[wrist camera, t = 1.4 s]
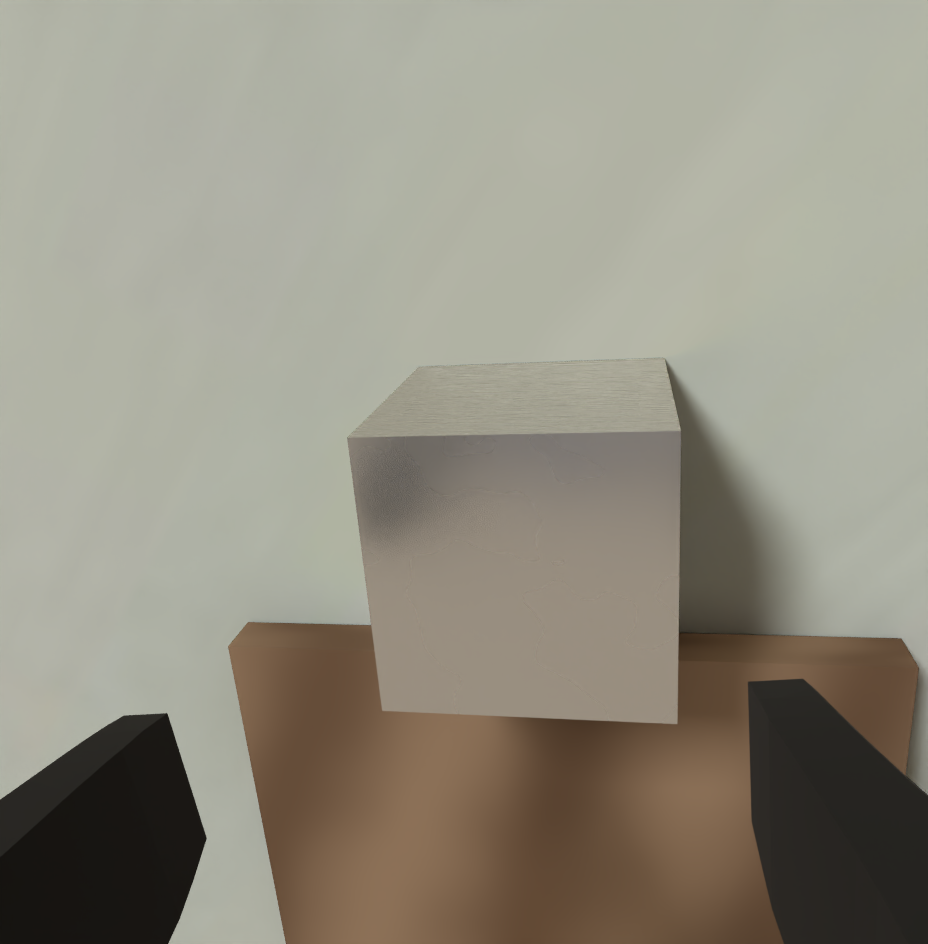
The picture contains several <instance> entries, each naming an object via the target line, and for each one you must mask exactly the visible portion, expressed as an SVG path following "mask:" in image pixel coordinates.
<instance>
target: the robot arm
mask: <svg viewBox="0 0 928 944" xmlns="http://www.w3.org/2000/svg"><path fill="white" fill-rule="evenodd" d="M748 708H749V745H750V782H751V819H752V826H753V830H754V834H755V839H756V843H757V848H758V852H759V856H760V861H761V865H762V870H763V874H764V878H765V882H766V886H767V890H768V895H769V899H770V903H771V907H772V911H773V914H774V916H775V919H776V922H777V925H778V928H779V931H780V934H781V937H782V940H783V943H784V944H928V795H927V794H926V793H925V792H924V791H922V790H921V789H920V788H919V787H918V786H917V785H916V784H915V783H913V782H912V781H911V780H910V779H909V778H908V777H907V776H905V775H904V774H903V773H902V772H901V771H900V770H899V769H898V768H897V767H896V766H894V765H893V764H892V763H891V762H890V761H889V760H888V759H887V758H886V757H885V756H884V755H883V754H882V753H880V752H879V751H878V750H877V749H876V748H875V747H874V746H873V745H872V744H871V743H870V742H869V741H868V740H867V739H866V738H865V737H864V736H863V735H861V734H860V733H859V732H858V731H857V730H856V729H855V728H854V727H853V726H852V725H851V724H850V723H849V722H848V721H847V720H846V719H845V718H844V717H843V716H842V715H841V714H840V713H839V712H838V711H837V710H836V709H835V708H834V707H833V706H832V705H831V704H830V703H829V702H828V701H827V700H826V699H825V698H824V697H823V696H822V695H821V694H820V693H819V692H818V691H817V690H815V689H814V688H813V687H812V686H811V685H810V684H809V683H808V682H806V681H805V680H804V679H786V680H768V681H750V682H748ZM206 839H207V838H206V835H205V832H204V828H203V825H202V822H201V819H200V816H199V812H198V809H197V806H196V803H195V800H194V797H193V793H192V790H191V787H190V784H189V781H188V778H187V774H186V771H185V768H184V765H183V762H182V759H181V755H180V752H179V749H178V746H177V743H176V740H175V736H174V733H173V730H172V727H171V724H170V720H169V717H168V714H167V713H165V714H147V715H129V716H122V717H121V718H119V719H117V720H116V721H114V722H112V723H111V724H109V725H107V726H106V727H104V728H103V729H101V730H99V731H98V732H96V733H95V734H93V735H92V736H90V737H89V738H87V739H86V740H84V741H83V742H81V743H80V744H79V745H77V746H76V747H74V748H73V749H71V750H70V751H68V752H67V753H66V754H64V755H63V756H61V757H60V758H58V759H57V760H56V761H54V762H53V763H51V764H50V765H49V766H47V767H46V768H44V769H43V770H41V771H40V772H39V773H37V774H36V775H34V776H33V777H32V778H30V779H29V780H27V781H26V782H25V783H23V784H22V785H20V786H19V787H18V788H16V789H15V790H13V791H12V792H10V793H9V794H8V795H6V796H5V797H3V798H2V799H1V800H0V944H168V943H169V941H170V939H171V936H172V934H173V932H174V930H175V928H176V925H177V923H178V921H179V919H180V916H181V914H182V911H183V908H184V905H185V902H186V900H187V897H188V894H189V891H190V888H191V885H192V883H193V880H194V876H195V873H196V870H197V867H198V864H199V861H200V858H201V854H202V851H203V848H204V845H205V842H206Z"/></svg>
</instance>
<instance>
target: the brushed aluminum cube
mask: <svg viewBox="0 0 928 944" xmlns="http://www.w3.org/2000/svg"><path fill="white" fill-rule="evenodd" d="M347 439H348V447H349V455H350V463H351V470H352V478H353V486H354V494H355V502H356V510H357V517H358V525H359V533H360V541H361V549H362V557H363V564H364V572H365V580H366V588H367V596H368V604H369V611H370V619H371V627H372V635H373V643H374V651H375V658H376V666H377V674H378V682H379V690H380V698H381V705H382V711H397V712H419V713H441V714H463V715H485V716H508V717H530V718H552V719H574V720H596V721H618V722H640V723H663V724H677V719H678V641H679V562H680V484H681V428H680V424H679V419H678V415H677V411H676V406H675V402H674V398H673V393H672V389H671V385H670V380H669V376H668V372H667V367H666V363H665V359H664V358H647V359H619V360H592V361H564V362H537V363H510V364H482V365H455V366H427V367H418V368H417V369H416V370H415V371H414V372H413V373H412V374H411V375H410V376H409V377H408V378H407V379H406V380H405V381H404V382H403V383H402V384H401V385H400V386H399V387H398V388H397V389H396V390H395V391H394V392H393V393H392V394H391V395H390V396H389V397H388V398H387V399H386V400H385V401H384V402H383V403H382V404H381V405H380V406H379V407H378V408H377V409H376V410H375V411H374V412H373V413H372V414H371V415H370V416H369V417H368V418H367V419H366V420H365V421H364V422H363V423H361V424H360V425H359V426H358V427H357V428H356V429H355V430H354V431H353V432H352V433H351V434H350V435H349V436H348V437H347Z"/></svg>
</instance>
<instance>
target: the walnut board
mask: <svg viewBox="0 0 928 944" xmlns="http://www.w3.org/2000/svg"><path fill="white" fill-rule="evenodd" d="M228 648H229V653H230V659H231V664H232V669H233V674H234V679H235V684H236V689H237V694H238V700H239V705H240V710H241V715H242V720H243V725H244V730H245V736H246V741H247V746H248V751H249V756H250V761H251V766H252V771H253V777H254V782H255V787H256V792H257V797H258V802H259V807H260V813H261V818H262V823H263V828H264V833H265V838H266V843H267V848H268V854H269V859H270V864H271V869H272V874H273V879H274V884H275V889H276V895H277V900H278V905H279V910H280V915H281V920H282V925H283V931H284V936H285V941H286V944H784V943H783V940H782V937H781V934H780V931H779V928H778V925H777V922H776V919H775V916H774V914H773V911H772V907H771V903H770V899H769V895H768V890H767V886H766V882H765V878H764V874H763V870H762V865H761V861H760V856H759V852H758V848H757V843H756V839H755V834H754V830H753V826H752V819H751V782H750V745H749V708H748V682H750V681H768V680H786V679H804V680H805V681H806V682H808V683H809V684H810V685H811V686H812V687H813V688H814V689H815V690H817V691H818V692H819V693H820V694H821V695H822V696H823V697H824V698H825V699H826V700H827V701H828V702H829V703H830V704H831V705H832V706H833V707H834V708H835V709H836V710H837V711H838V712H839V713H840V714H841V715H842V716H843V717H844V718H845V719H846V720H847V721H848V722H849V723H850V724H851V725H852V726H853V727H854V728H855V729H856V730H857V731H858V732H859V733H860V734H861V735H863V736H864V737H865V738H866V739H867V740H868V741H869V742H870V743H871V744H872V745H873V746H874V747H875V748H876V749H877V750H878V751H879V752H880V753H882V754H883V755H884V756H885V757H886V758H887V759H888V760H889V761H890V762H891V763H892V764H893V765H894V766H896V767H897V768H898V769H899V770H900V771H901V772H902V773H903V774H904V775H905V774H906V766H907V758H908V750H909V742H910V734H911V726H912V718H913V710H914V702H915V694H916V686H917V678H918V670H919V667H918V666H917V664H916V662H915V661H914V659H913V657H912V656H911V654H910V652H909V651H908V649H907V647H906V646H905V644H904V642H903V641H902V639H898V638H858V637H818V636H778V635H738V634H697V633H679V641H678V719H677V724H663V723H640V722H618V721H596V720H574V719H552V718H530V717H508V716H485V715H463V714H441V713H419V712H397V711H382V705H381V698H380V690H379V682H378V674H377V666H376V658H375V651H374V643H373V635H372V627H371V625H336V624H295V623H255V622H248V623H247V624H246V625H245V627H244V628H243V629H242V630H241V631H240V633H239V634H238V635H237V636H236V638H235V639H234V640H233V641H232V642H231V644H230V645H229V646H228Z"/></svg>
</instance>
